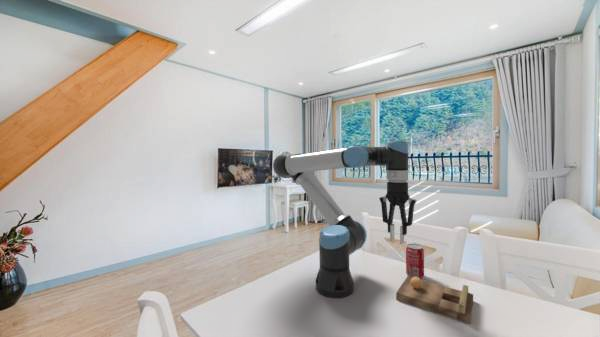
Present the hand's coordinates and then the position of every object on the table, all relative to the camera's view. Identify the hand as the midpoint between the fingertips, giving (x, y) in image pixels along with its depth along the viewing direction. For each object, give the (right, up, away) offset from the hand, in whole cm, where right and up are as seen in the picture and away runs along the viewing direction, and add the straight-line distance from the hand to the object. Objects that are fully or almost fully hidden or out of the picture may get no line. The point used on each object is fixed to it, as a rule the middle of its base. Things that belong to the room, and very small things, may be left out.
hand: (397, 241), depth 95 cm
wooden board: (+10, -19, -7) cm, 23 cm away
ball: (+6, -14, -4) cm, 16 cm away
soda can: (+12, -18, +11) cm, 25 cm away
